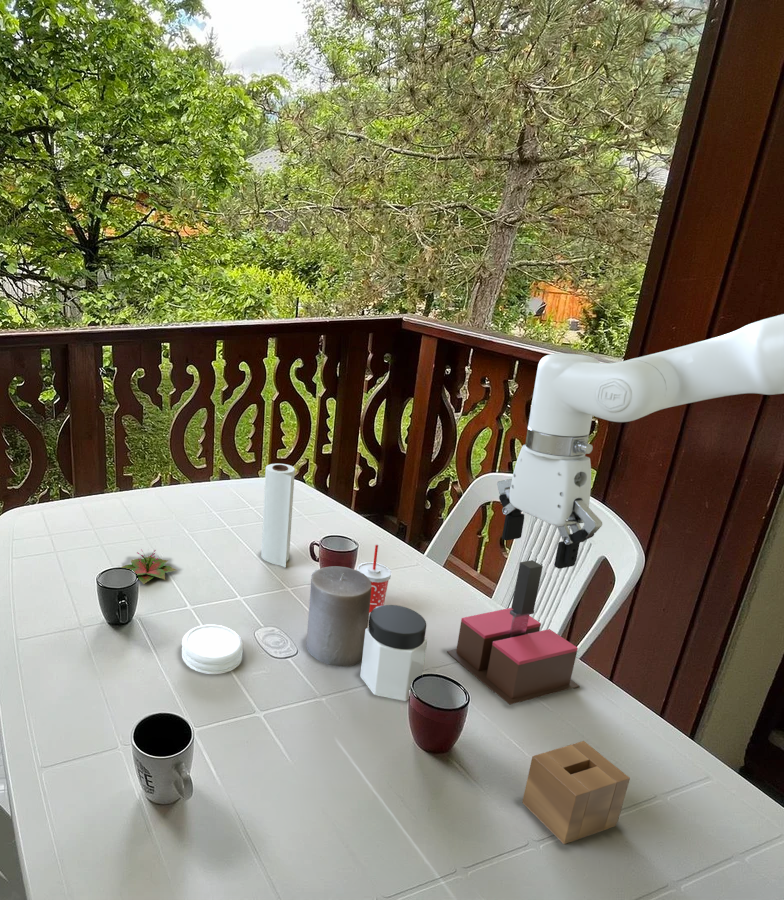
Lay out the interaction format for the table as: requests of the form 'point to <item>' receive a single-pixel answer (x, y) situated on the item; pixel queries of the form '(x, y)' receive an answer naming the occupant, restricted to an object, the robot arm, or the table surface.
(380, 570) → the beverage cup
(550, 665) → the cake
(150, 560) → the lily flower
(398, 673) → the jar
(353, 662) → the pillar candle
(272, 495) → the paper towel roll
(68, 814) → the table surface
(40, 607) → the table surface
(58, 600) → the table surface
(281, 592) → the table surface
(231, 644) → the coaster
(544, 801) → the knife block
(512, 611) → the knife
